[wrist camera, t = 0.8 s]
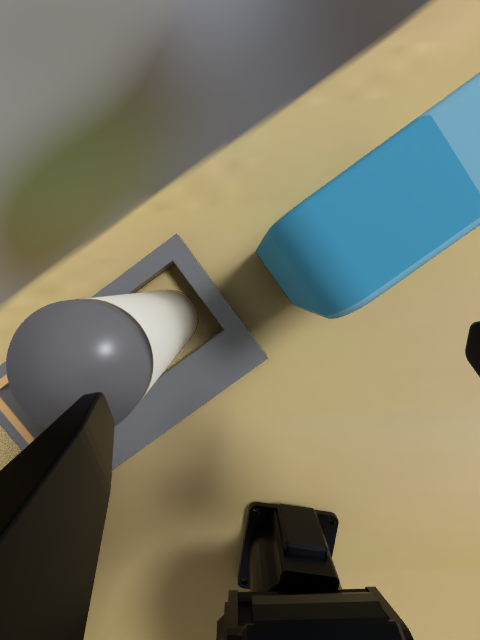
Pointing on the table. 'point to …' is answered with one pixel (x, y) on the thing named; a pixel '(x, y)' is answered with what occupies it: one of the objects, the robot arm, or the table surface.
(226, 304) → the jack panel
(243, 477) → the table surface
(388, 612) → the robot arm
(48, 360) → the white cylinder with cap
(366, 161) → the blue box
